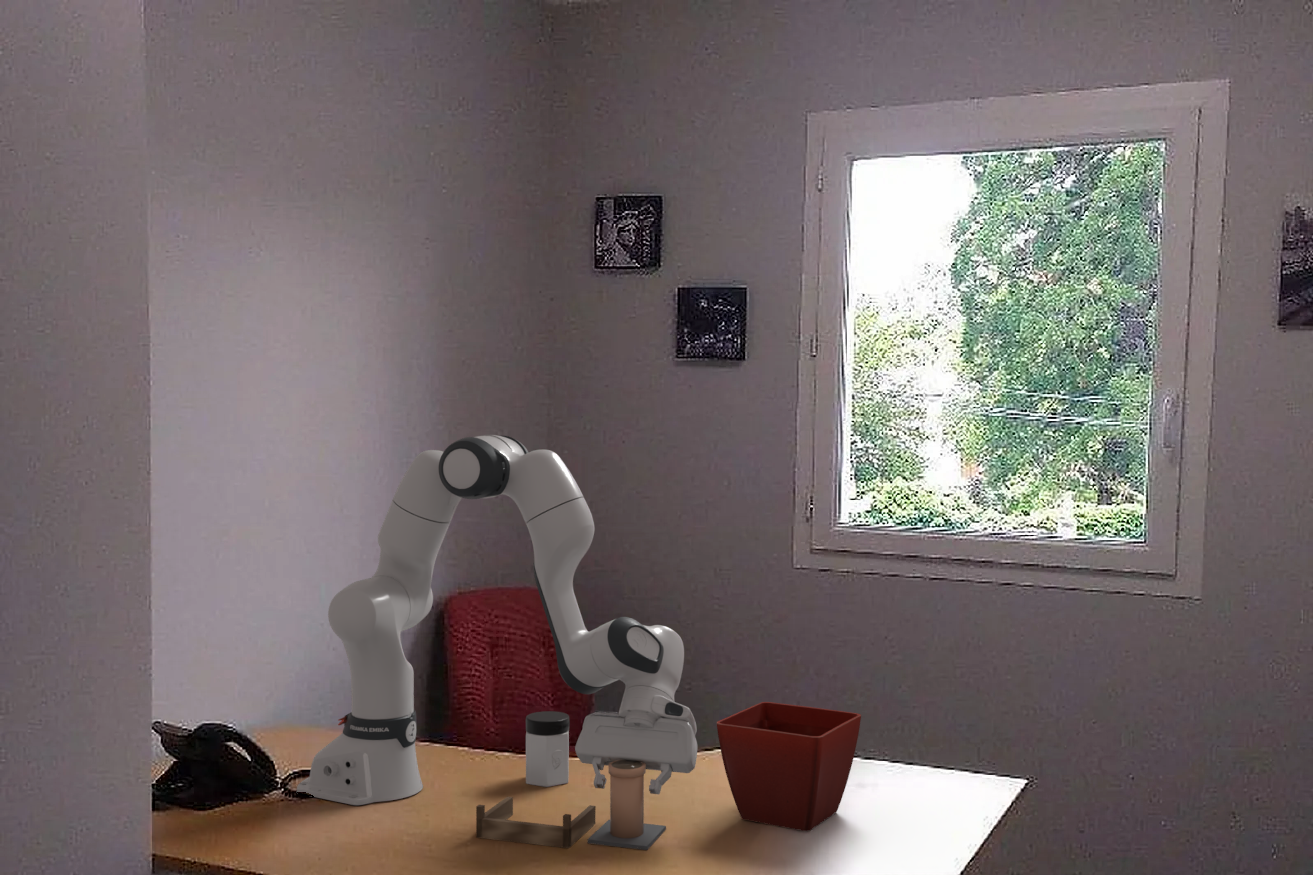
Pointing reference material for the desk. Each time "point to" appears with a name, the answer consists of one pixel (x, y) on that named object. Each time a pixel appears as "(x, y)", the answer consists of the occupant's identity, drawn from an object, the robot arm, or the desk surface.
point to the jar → (547, 748)
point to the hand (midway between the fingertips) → (626, 789)
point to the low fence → (531, 826)
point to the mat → (641, 842)
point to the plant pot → (788, 762)
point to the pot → (627, 798)
